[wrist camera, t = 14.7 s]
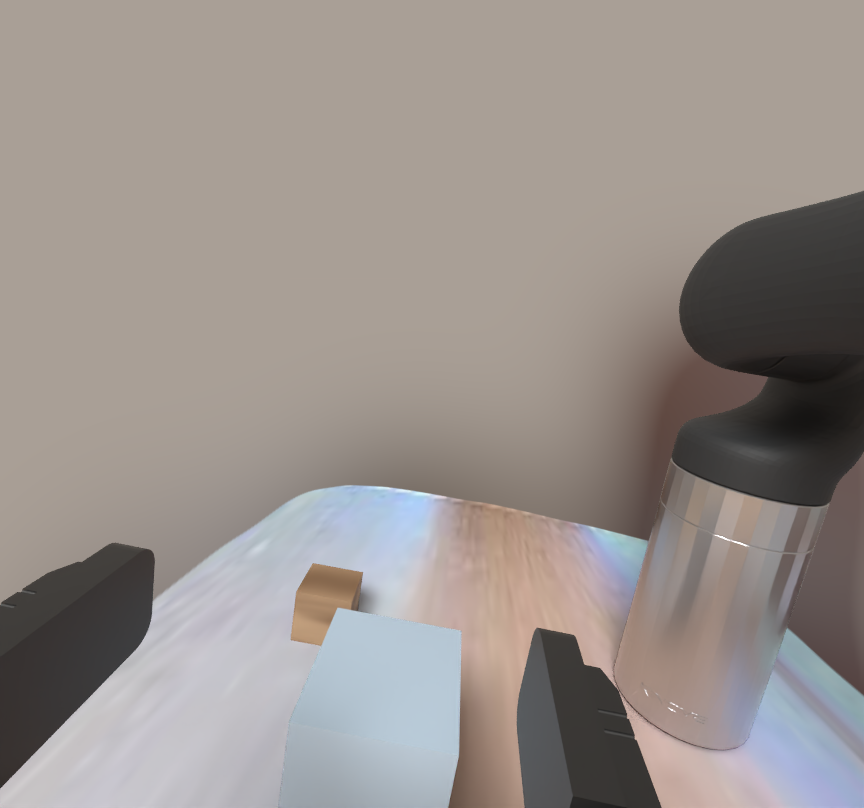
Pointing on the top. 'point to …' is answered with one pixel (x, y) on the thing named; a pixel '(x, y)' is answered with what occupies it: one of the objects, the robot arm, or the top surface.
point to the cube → (323, 601)
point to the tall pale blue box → (376, 717)
